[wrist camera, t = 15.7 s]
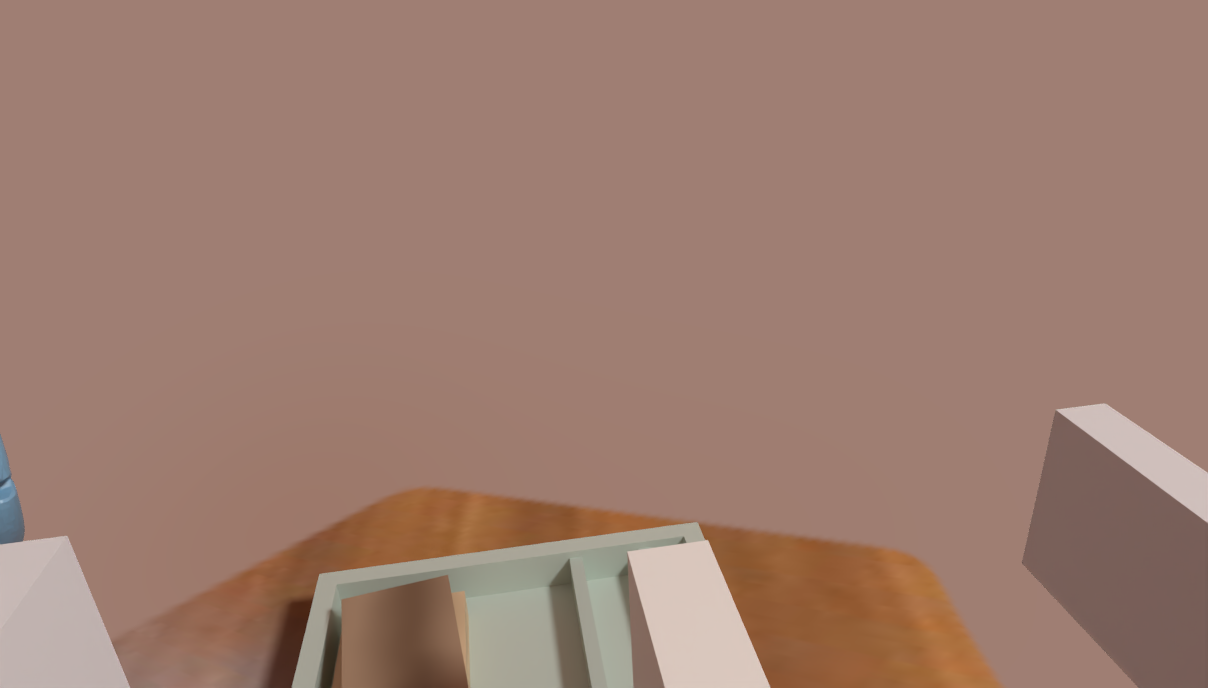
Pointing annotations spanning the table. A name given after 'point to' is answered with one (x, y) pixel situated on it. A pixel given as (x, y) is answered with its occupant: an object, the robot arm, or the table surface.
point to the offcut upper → (402, 638)
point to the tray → (514, 610)
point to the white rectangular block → (686, 622)
